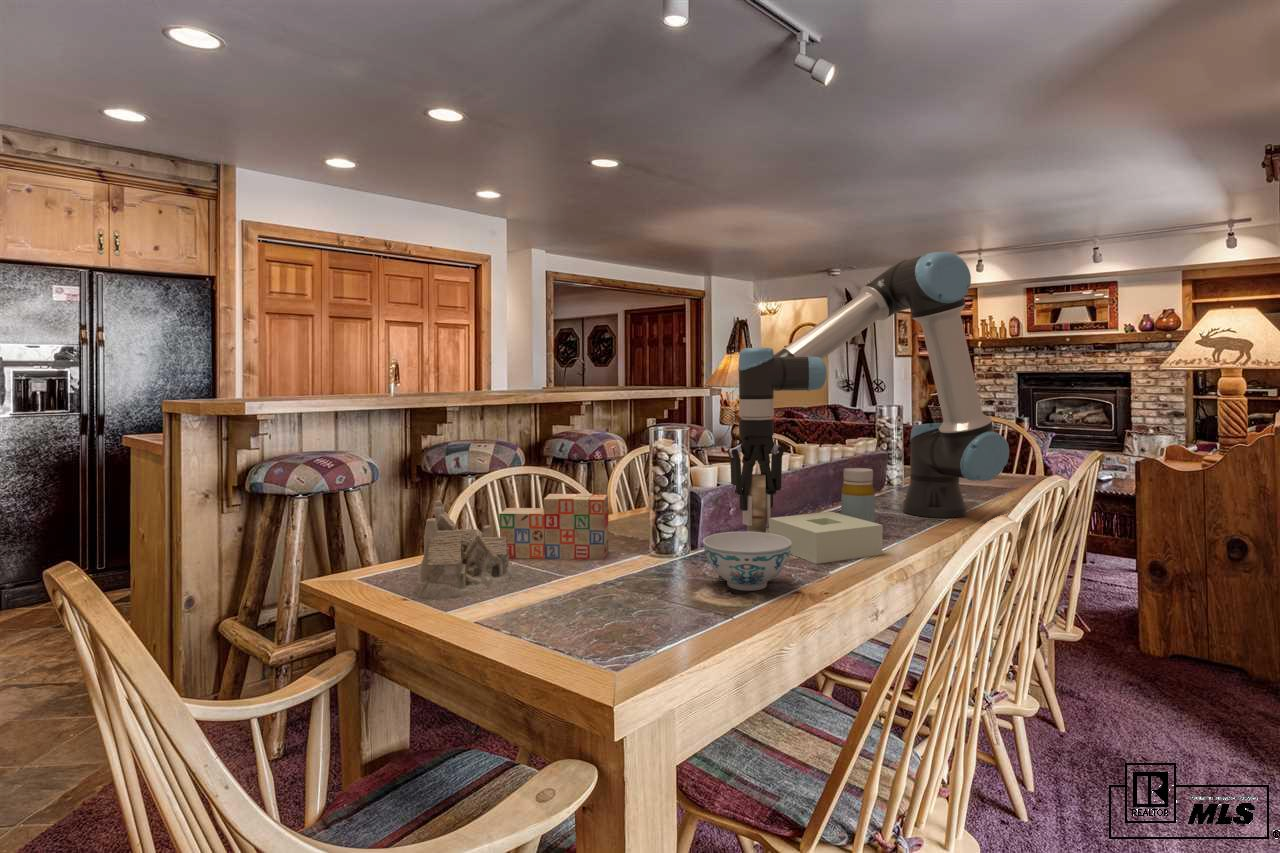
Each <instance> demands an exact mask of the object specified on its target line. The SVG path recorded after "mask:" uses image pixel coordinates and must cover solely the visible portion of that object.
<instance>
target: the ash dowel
mask: <svg viewBox="0 0 1280 853" xmlns="http://www.w3.org/2000/svg"><path fill="white" fill-rule="evenodd" d="M749 496H752V526H747V525H746V528H747V531H746V532H763V533H767V526H766V525H767V524H766V475H764V474H761V473H752V479H751V484H750V490H749Z"/></svg>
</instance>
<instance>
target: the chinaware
mask: <svg viewBox="0 0 1280 853" xmlns="http://www.w3.org/2000/svg"><path fill="white" fill-rule="evenodd" d="M702 543H703V545H702V546H703V549H704V552H705V553H704V554H705V556H706V559H707V560H708V563H709V564H710V566H711V567H712V569H713V570H714V572H716V573H717V575H718V576H720V577H721V578H722V579H723V580H725V581H726V584H727V586H728V587H729V588H731V589H733V590H738V591H745V592H747V591H753V592H754V591H760V590H763V589H765V588H767V586H768V582H769V581H771V580H773V579H774V578H775V577H776V576H778V574H779V573H780V572H781V571H782V569H784V567H785V566H786V563H787V561H788V559H789V556H790V554H789V553H790V550H791V544H792V542H791V540H789V539H788V538H786V537H783V536H780V535H776V534H770V533H769V532H766V533H763V532H747V531H728V532H719V533H714V534H710V535H707V536H706V537H704V538H703V540H702Z"/></svg>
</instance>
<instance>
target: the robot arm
mask: <svg viewBox="0 0 1280 853" xmlns="http://www.w3.org/2000/svg"><path fill="white" fill-rule="evenodd" d="M971 282H972V276H971V272H970V269H969V267H968V265H967V263H966V262H965V261H964V259H963V258H962V257H961V256H958V255H957V254H955V253H953V252H950V251H935V252H934V251H933V252H928V253H927V254H923V255H920V256H917V257H913V258H909V259H905V260H902V261H899V262H897V263H895V264H894V265H891V266H890V267H889V268H887V269H886V270H885V271H883V272H882V273H880V275H878V276H876V277H875V278H874V279H873V280H871V281H870V282H869V283H867V284H865V285H864V286H863V287H862V288H861V289H860V290H859V295H857V296H856V297H854V298H853V299H852V300H850V301H849V302H847V303H846V304H845V305H843V306H842V307H841V308H839V309H837V310H836V311H835V312H833V313H832V314H830V315H829V316H827V317H826V318H825V319H823V320H821V322H819V323H818V324H815V326H813V327H812V328H810V329H809V330H808V331H806V332H805V333H803V334H802V335H800V336H799V337H798V338H796V339H795V340H794V341H792V342H790V343H789V344H787V345H786V346H785V347H784V348H782V349H781V350H779V351H777V352H776V353H775V352H774V349H773V348H771V347H745V348H742V349H741V350H739V351H740V352H739V353H738V354H739V355H738V366H737V367H738V368H737V371H738V416H739V418H741V419H739V421H738V434H739V441H738V444H737V446H735V447H733V448H731V447H730V448H728V449H727V454H728V458H729V462H730V463H729V464H730V466H729V467H730V485H731V484H733V485H736V490H735V493H734V494H736V493H737V494H736V495H738V496H739V495H740V496H739V509H740V510H741V511H742V525H745V526H746V527H747V526H752V496H749V490H750V484H751V479H752V474H754V473H753V472H754V467H755V466H756V464H758V466H759V471H760V474H764V475H766V525H769V518H771V509H772V508H773V507H774V495H776V494H777V491H781V490H782V477H783V476H782V475H783V474H782V472H783V471H782V470H783V467H782V466H783V455H784V454H785V453H784V452H785V446H782V445H778V444H775V442H774V440H773V439H774V438H773V436H774V433H775V432H774V425H775V422H774V420H773V419H772V418H773V417H774V416H775V412H774V411H775V407H774V404H775V402H774V397H775V396H774V392H778V391H779V392H780V391H781V392H782V391H785V392H786V391H790V392H791V391H792V392H793V391H794V392H795V391H806V392H810V391H818V390H820V389H822V388H823V387H824V385H825V383H826V380H827V376H828V375H827V374H828V371H827V366H826V363H825V361H824V358H826V357H827V356H829V355H830V354H832V353H833V352H834V351H836V350H837V349H838V348H840V347H841V346H843V345H844V344H846V343H847V342H849V341H850V340H851V339H853V338H854V337H855V336H857V335H858V334H860V333H862V331H864V330H865V329H866V328H868V327H870V326H871V325H873V324H874V323H876V322H877V321H885V320H887V319H888V318H889V317H891V316H893V315H895V314H896V313H899V312H903V311H905V310H910V312H911V314H910V315H911V318H912V320H914V321H915V322H917V323H919V324H920V325H921V329H922V333H923V338H924V341H925V346H926V350H927V355H928V359H929V363H930V368H931V373H932V377H933V382H934V386H935V390H936V393H937V394H936V395H937V397H938V403H939V405H940V410H941V411H940V412H941V415H942V420H943V421H942V422H933V423H922V424H921V423H919V424H916V425H913V427H912V428H911V431H910V438H909V442H910V452H909V453H910V455H909V456H910V461H909V463H910V466H909V467H910V468H909V469H910V480H909V484H908V487H907V490H906V495H905V498H904V500H903V501H902V512H904V513H905V514H908V515H912V516H918V517H925V518H936V519H937V518H940V519H942V518H947V519H949V518H960V517H964V516H966V515H967V504H966V503H965V501H964V496H963V493H962V490H961V486H960V478H961V479H965V480H968V481H979V482H986V481H990V480H992V479H995V478H997V477H998V476H999V475H1000V474H1001V473H1002V472H1003V471H1004V468H1005V466H1007V465H1008V461H1009V458H1010V447H1009V443H1008V441H1007V439H1006V438H1005V437H1004V436H1002V435H1001V434H1000V433H999V432H996V431H995V429H994V425H993V420H992V418H991V417H990V416H988V415H987V414H985V413H984V412H983V408H982V404H981V400H980V397H979V396H980V395H979V391H978V387H977V383H976V382H977V381H976V378H975V373H974V370H973V365H972V361H971V356H970V351H969V347H968V346H969V345H968V343H967V342H968V341H967V339H966V334H965V333H966V332H965V330H964V326H963V320H962V317H961V314H962V311H963V310H964V309H965V308H966V301H965V296H966V295H967V294H968V292H969V288H970V287H971ZM770 453H771V457H770ZM741 456H742V459H741ZM741 460H742V461H741ZM756 462H757V463H756ZM742 488H743V490H742Z"/></svg>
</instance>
